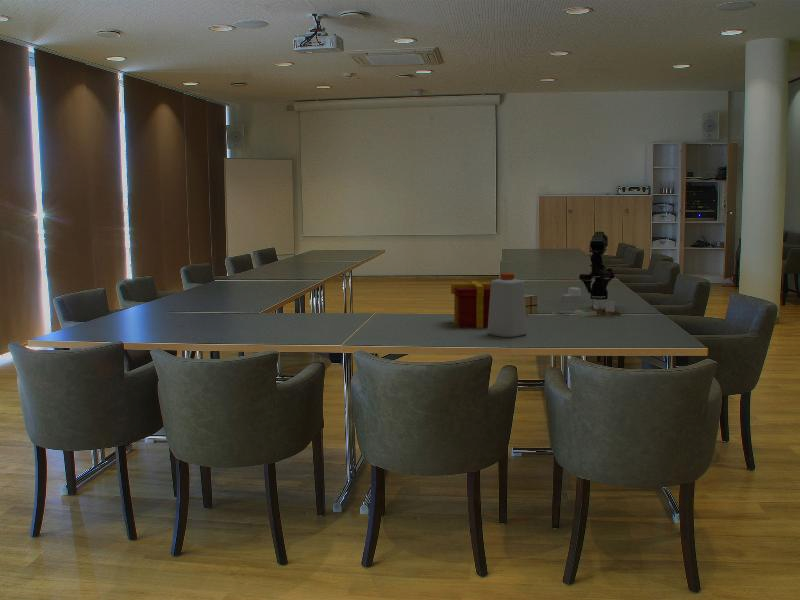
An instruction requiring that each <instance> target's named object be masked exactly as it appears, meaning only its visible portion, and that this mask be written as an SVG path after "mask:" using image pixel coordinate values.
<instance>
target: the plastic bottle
mask: <svg viewBox="0 0 800 600" xmlns="http://www.w3.org/2000/svg"><path fill="white" fill-rule="evenodd" d="M490 283H491V290H490V303H489V317H488V327H487V330H486V331H487V334H488V335H491V336H494V337H495V336H496V337H500V338H509V339H510V338H515V337H521V336H525V335H527V334H528V333H527V331H528V328H527V327H528V326H527V314H526V309H525V294H526V292H525V282H524V280H522V279H516V278H515V273H512V272H510V273H509V272H505V273H504V272H502V273H501V274H500V278H499V279H493V280H491V282H490Z"/></svg>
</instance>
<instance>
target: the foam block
mask: <svg viewBox="0 0 800 600" xmlns="http://www.w3.org/2000/svg"><path fill="white" fill-rule="evenodd" d="M567 289H568V291H567V292H568V293H563V294H561V302H562V301H563V302H562V303H582V288H580V287H577V286H576V287H567Z"/></svg>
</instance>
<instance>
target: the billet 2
mask: <svg viewBox="0 0 800 600" xmlns="http://www.w3.org/2000/svg"><path fill="white" fill-rule="evenodd" d="M615 303H616V302H615V300H606V301H605V312H606V313H614V312H615V311H616V310H615V309H616V308H615V307H616V305H615Z"/></svg>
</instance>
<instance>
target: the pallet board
mask: <svg viewBox="0 0 800 600" xmlns="http://www.w3.org/2000/svg"><path fill="white" fill-rule="evenodd" d="M588 310H591V311H596V312H597V315H599V316H602V317H603V316H604V317H616V316H619V317H620V316H622V312H621V311H616V310H615V312H614V313H606V312H605V310H600V311H597V310H593V308H588Z"/></svg>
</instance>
